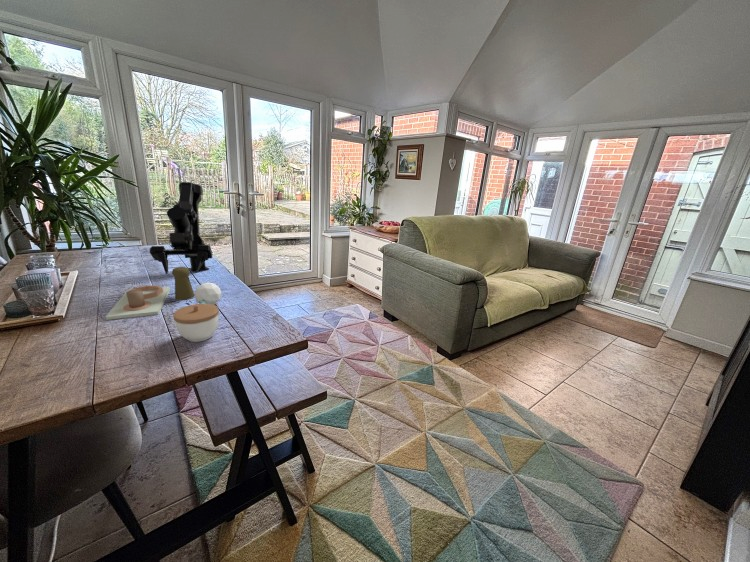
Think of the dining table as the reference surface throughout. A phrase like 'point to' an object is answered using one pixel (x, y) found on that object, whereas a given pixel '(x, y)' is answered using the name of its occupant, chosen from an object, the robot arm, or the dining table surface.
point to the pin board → (142, 312)
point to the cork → (182, 284)
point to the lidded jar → (197, 321)
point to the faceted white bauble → (207, 293)
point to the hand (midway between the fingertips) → (181, 272)
